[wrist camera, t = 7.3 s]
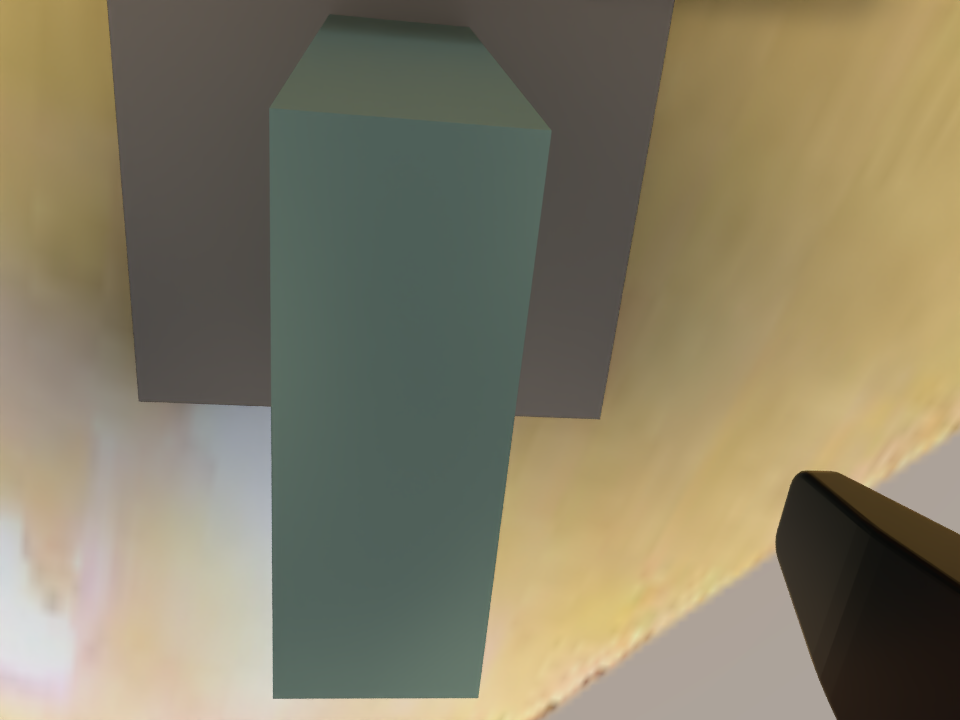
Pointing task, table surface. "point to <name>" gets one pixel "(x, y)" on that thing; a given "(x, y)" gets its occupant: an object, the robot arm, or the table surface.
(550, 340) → the mat
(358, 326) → the teal block
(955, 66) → the table surface
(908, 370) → the table surface
